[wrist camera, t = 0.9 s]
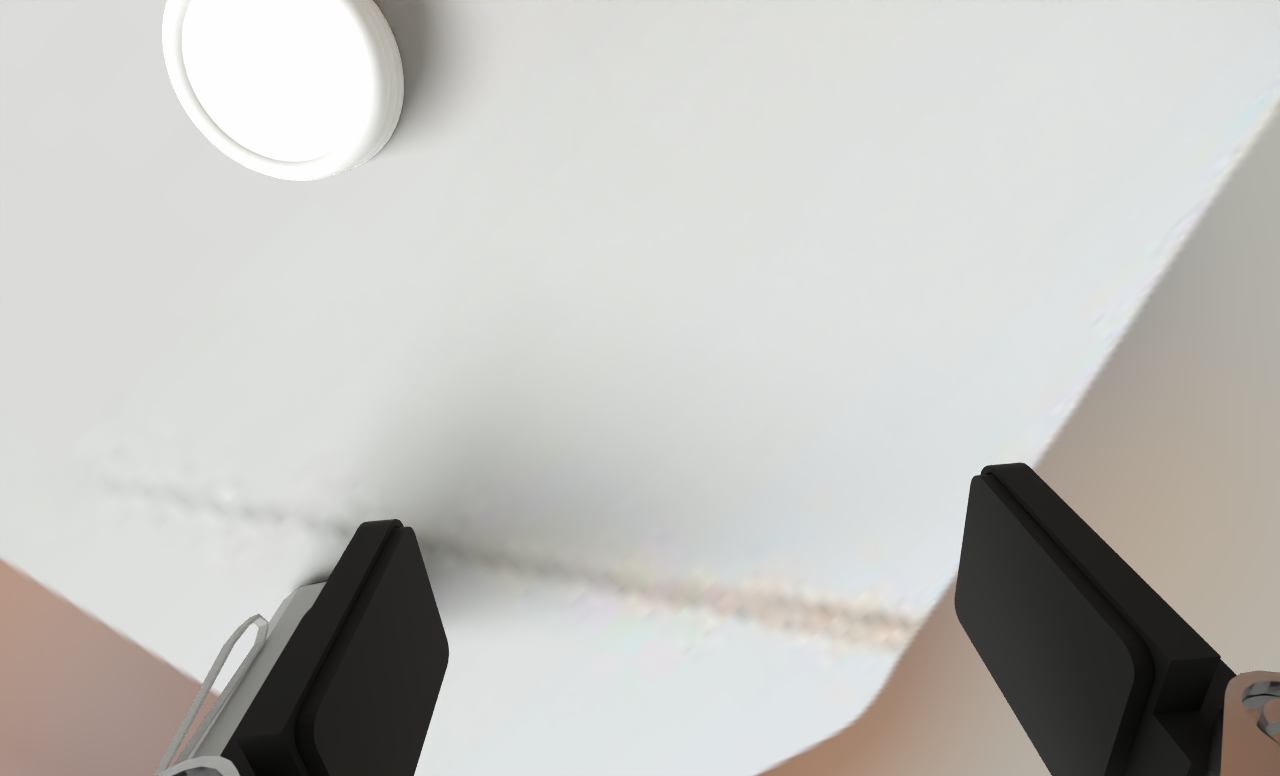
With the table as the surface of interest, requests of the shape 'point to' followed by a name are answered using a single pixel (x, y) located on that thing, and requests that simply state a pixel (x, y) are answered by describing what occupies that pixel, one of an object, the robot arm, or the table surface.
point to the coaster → (287, 80)
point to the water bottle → (240, 679)
